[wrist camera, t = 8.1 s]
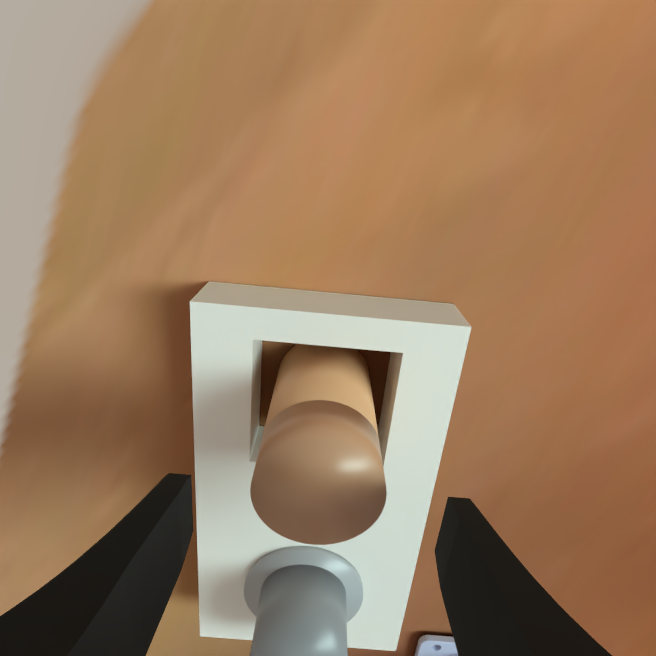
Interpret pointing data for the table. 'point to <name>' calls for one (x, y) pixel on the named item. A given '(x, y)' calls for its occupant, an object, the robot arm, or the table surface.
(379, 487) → the tan round-topped peg
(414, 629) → the table surface
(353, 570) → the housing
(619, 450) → the table surface
